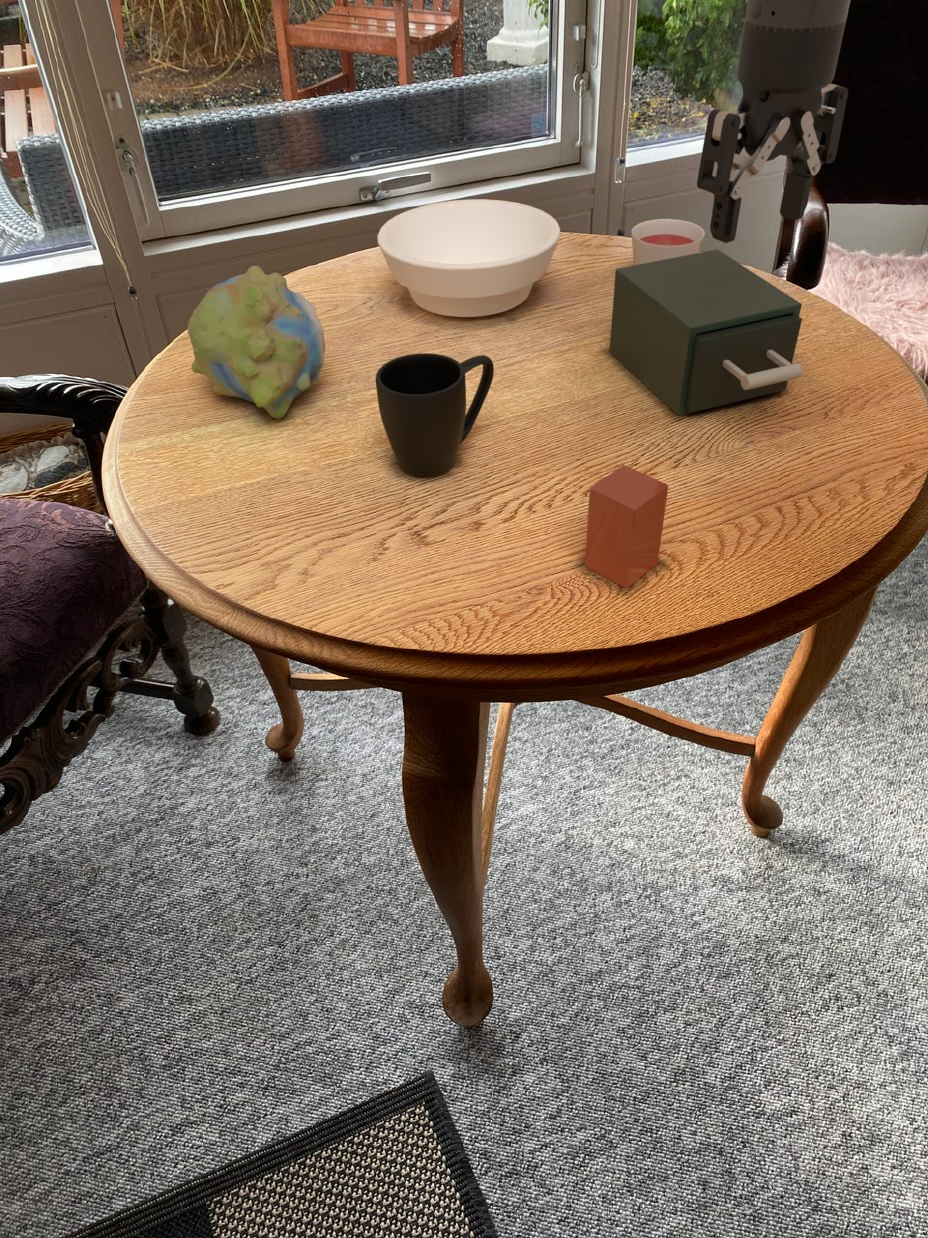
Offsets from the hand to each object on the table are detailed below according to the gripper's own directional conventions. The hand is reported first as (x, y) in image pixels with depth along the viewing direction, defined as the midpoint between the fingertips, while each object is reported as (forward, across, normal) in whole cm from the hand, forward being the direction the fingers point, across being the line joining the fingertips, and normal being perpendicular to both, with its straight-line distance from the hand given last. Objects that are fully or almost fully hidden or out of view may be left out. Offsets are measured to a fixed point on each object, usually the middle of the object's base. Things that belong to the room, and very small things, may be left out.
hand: (757, 228), depth 80 cm
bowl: (+18, -6, +39) cm, 44 cm away
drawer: (+17, +2, +4) cm, 18 cm away
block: (+18, -25, -13) cm, 34 cm away
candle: (+18, +16, +28) cm, 37 cm away
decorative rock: (+18, -39, +31) cm, 53 cm away
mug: (+18, -28, +10) cm, 35 cm away
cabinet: (+18, +3, +8) cm, 20 cm away
